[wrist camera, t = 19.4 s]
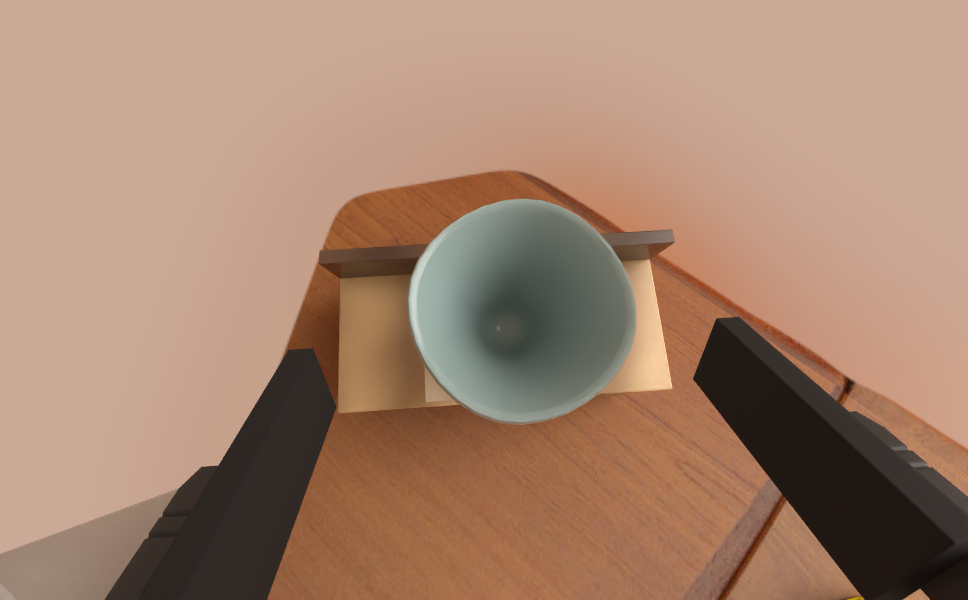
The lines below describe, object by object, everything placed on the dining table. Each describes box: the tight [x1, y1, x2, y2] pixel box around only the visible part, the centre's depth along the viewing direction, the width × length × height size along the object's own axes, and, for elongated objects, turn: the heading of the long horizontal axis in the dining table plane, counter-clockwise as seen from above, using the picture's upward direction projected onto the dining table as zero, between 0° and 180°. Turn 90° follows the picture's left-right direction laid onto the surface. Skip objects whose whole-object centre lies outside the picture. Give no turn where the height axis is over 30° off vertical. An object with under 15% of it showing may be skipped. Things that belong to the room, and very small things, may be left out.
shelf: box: [319, 230, 675, 413], centre depth 23 cm, size 20×9×9 cm, turn 94°
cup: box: [407, 198, 637, 425], centre depth 17 cm, size 8×8×10 cm
